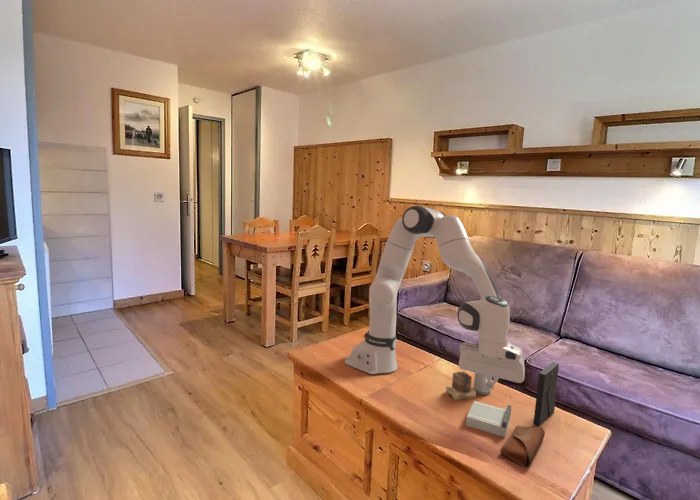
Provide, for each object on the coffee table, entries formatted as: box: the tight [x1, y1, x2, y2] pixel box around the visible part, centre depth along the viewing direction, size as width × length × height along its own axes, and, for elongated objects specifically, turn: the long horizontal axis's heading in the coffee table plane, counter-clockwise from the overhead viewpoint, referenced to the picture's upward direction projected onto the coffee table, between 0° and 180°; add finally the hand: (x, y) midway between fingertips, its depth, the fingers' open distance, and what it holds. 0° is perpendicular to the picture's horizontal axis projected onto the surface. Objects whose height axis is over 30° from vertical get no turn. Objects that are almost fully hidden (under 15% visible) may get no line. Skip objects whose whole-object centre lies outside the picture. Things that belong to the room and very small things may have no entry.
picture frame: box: [533, 362, 560, 427], centre depth 132 cm, size 13×2×18 cm, turn 135°
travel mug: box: [473, 372, 493, 396], centre depth 149 cm, size 6×7×20 cm
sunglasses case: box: [499, 425, 546, 468], centre depth 116 cm, size 18×7×7 cm
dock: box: [465, 400, 512, 438], centre depth 129 cm, size 12×12×5 cm
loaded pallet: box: [445, 371, 477, 401], centre depth 147 cm, size 9×6×8 cm, turn 109°
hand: (489, 387), depth 129 cm, fingers closed
